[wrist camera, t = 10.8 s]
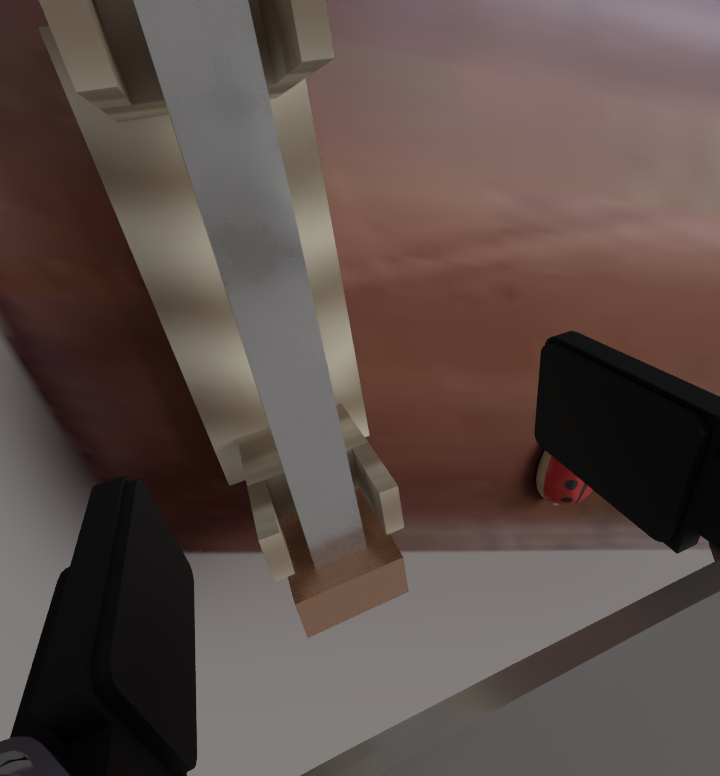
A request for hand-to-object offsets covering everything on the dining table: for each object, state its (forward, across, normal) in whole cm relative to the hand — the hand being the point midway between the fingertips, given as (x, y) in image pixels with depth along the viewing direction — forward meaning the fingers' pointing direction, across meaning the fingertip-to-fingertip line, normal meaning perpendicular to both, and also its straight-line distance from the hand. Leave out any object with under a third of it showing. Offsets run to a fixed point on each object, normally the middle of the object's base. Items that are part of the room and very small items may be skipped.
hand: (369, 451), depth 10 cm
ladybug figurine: (+18, -24, +24) cm, 38 cm away
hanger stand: (+17, +1, +1) cm, 17 cm away
